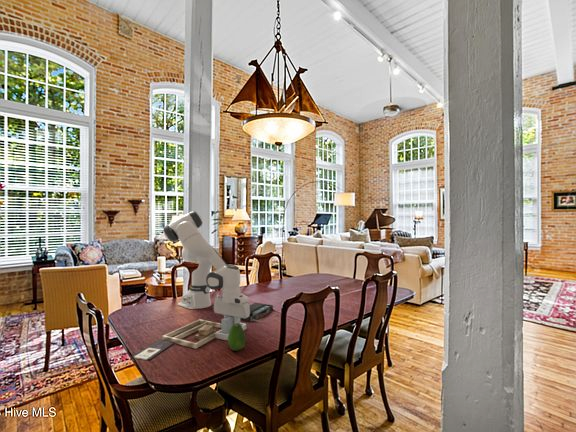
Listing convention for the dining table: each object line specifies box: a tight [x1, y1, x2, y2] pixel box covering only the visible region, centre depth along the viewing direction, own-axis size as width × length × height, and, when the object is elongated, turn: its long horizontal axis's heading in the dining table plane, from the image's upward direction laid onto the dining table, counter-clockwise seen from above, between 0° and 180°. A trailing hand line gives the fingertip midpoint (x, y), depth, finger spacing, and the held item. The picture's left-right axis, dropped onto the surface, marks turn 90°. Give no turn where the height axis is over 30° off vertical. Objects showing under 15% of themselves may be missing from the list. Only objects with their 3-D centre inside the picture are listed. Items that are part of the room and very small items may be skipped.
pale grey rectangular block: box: [220, 316, 241, 334], centre depth 157 cm, size 3×12×7 cm, turn 154°
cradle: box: [214, 322, 248, 341], centre depth 157 cm, size 7×17×2 cm, turn 154°
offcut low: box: [194, 329, 217, 342], centre depth 152 cm, size 5×10×2 cm, turn 155°
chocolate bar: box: [131, 339, 175, 361], centre depth 137 cm, size 9×1×18 cm
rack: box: [161, 318, 221, 350], centre depth 155 cm, size 21×26×2 cm
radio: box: [240, 302, 274, 323], centre depth 186 cm, size 25×4×20 cm
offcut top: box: [197, 325, 214, 335], centre depth 152 cm, size 5×7×2 cm, turn 169°
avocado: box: [227, 323, 247, 352], centre depth 137 cm, size 8×8×12 cm
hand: (231, 324), depth 157 cm, fingers closed on pale grey rectangular block, 3 cm apart
